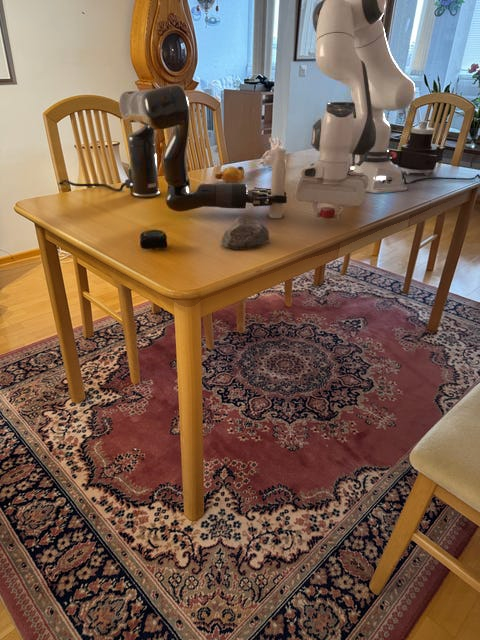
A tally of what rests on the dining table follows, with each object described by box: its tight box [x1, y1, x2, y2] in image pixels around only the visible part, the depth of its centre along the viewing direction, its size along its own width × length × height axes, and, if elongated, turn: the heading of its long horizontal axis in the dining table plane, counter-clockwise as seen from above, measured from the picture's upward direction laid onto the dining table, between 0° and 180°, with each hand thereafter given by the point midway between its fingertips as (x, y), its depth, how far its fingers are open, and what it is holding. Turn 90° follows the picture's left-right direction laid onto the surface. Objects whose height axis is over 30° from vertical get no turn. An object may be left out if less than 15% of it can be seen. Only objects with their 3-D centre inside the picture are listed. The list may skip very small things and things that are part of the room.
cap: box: [319, 206, 336, 220], centre depth 136 cm, size 4×4×2 cm
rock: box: [221, 216, 270, 250], centre depth 119 cm, size 13×9×6 cm, turn 131°
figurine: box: [258, 136, 283, 169], centre depth 203 cm, size 8×15×13 cm, turn 146°
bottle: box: [268, 147, 287, 219], centre depth 138 cm, size 4×4×20 cm
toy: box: [214, 165, 246, 184], centre depth 181 cm, size 11×6×15 cm
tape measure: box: [139, 229, 168, 250], centre depth 117 cm, size 7×7×4 cm
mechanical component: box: [388, 120, 446, 176], centre depth 202 cm, size 22×21×30 cm
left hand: (285, 197), depth 140 cm, fingers closed on bottle, 4 cm apart
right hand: (326, 217), depth 136 cm, fingers closed on cap, 4 cm apart
